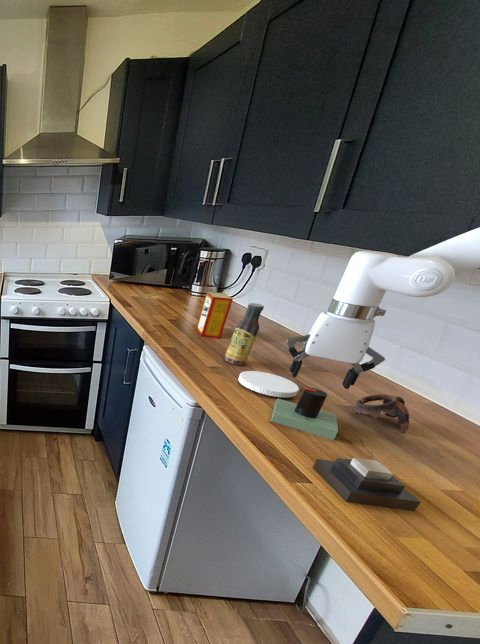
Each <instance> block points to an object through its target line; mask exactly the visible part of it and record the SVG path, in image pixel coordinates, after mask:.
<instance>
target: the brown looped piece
mask: <svg viewBox="0 0 480 644" xmlns="http://www.w3.org/2000/svg"><path fill="white" fill-rule="evenodd" d="M375 401H382V403H381V404H370V405H369V404H366V403H369V402H375ZM355 403H356V406H355V408H354V410H353V411H354V413H355V414H356V415H364V416H372V417H374V418H375V419H379V416H380V414H381V412H383V414H384V416H387V417H390V418H392V419H394V418H397V422H396V424H397V425H400V428H401V429H400V433H401V434H405V433H406V432H408V430H409V425H410V414H409V410H408V408H407V406H406V405H405V404H406V401H405V400H404V399H403V397H401V396H395V395H393V394H389V393H388V394H387V393H377V394H370V395H365V396H363V397H361V398H360V399H358V400H356V402H355Z"/></svg>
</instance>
